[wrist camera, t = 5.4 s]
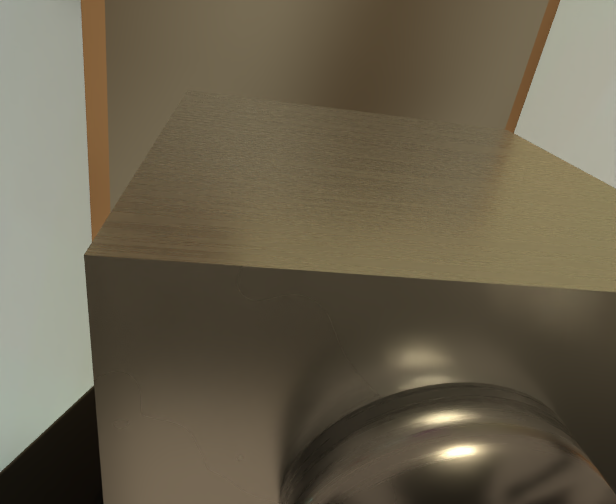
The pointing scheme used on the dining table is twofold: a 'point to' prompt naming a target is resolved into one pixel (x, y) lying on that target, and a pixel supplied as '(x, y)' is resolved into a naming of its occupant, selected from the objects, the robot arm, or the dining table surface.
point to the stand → (299, 65)
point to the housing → (353, 314)
